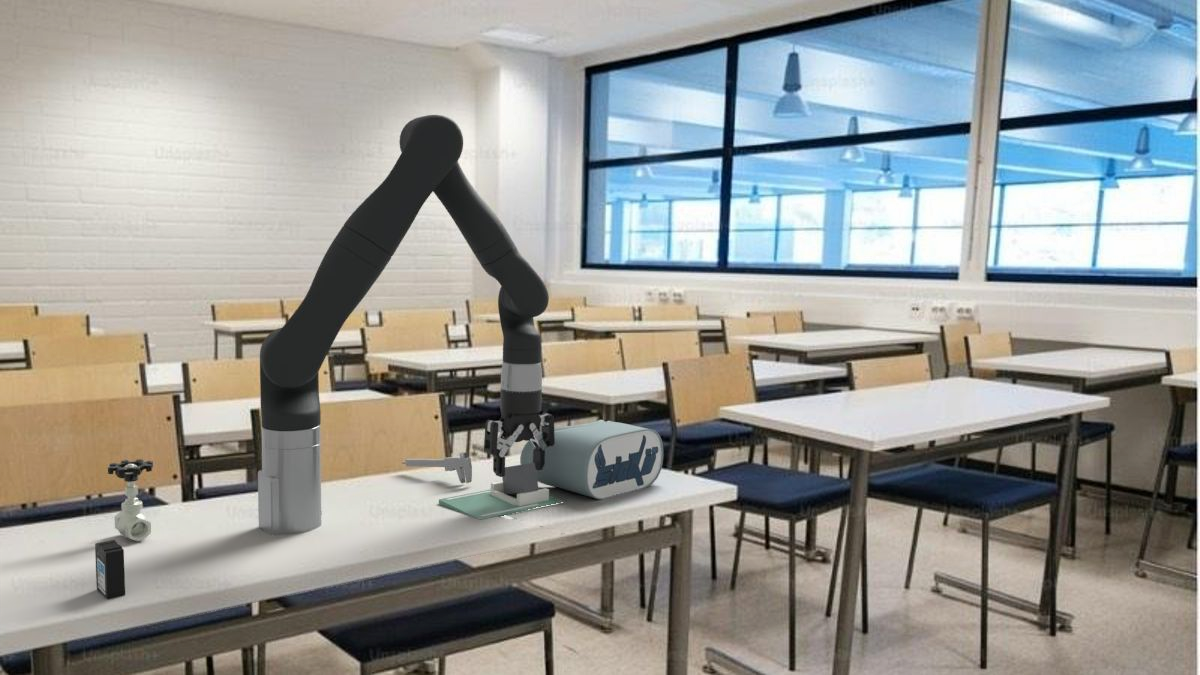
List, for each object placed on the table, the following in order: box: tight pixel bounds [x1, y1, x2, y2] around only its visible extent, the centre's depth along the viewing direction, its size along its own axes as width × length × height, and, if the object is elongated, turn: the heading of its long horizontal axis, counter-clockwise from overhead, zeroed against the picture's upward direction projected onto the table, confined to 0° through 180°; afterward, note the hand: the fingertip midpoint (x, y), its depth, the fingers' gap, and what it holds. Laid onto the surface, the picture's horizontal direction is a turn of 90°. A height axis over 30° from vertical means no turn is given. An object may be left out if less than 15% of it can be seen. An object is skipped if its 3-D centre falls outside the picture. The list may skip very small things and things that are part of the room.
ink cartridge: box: [94, 539, 126, 600], centre depth 120 cm, size 5×2×8 cm, turn 43°
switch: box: [501, 463, 540, 494], centre depth 169 cm, size 3×5×8 cm
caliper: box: [401, 451, 473, 484], centre depth 185 cm, size 20×1×6 cm, turn 51°
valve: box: [107, 458, 154, 542], centre depth 145 cm, size 7×7×12 cm
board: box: [438, 480, 565, 521], centre depth 167 cm, size 18×14×3 cm
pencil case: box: [519, 419, 664, 500], centre depth 181 cm, size 22×19×13 cm
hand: (519, 472), depth 169 cm, fingers open, 8 cm apart
